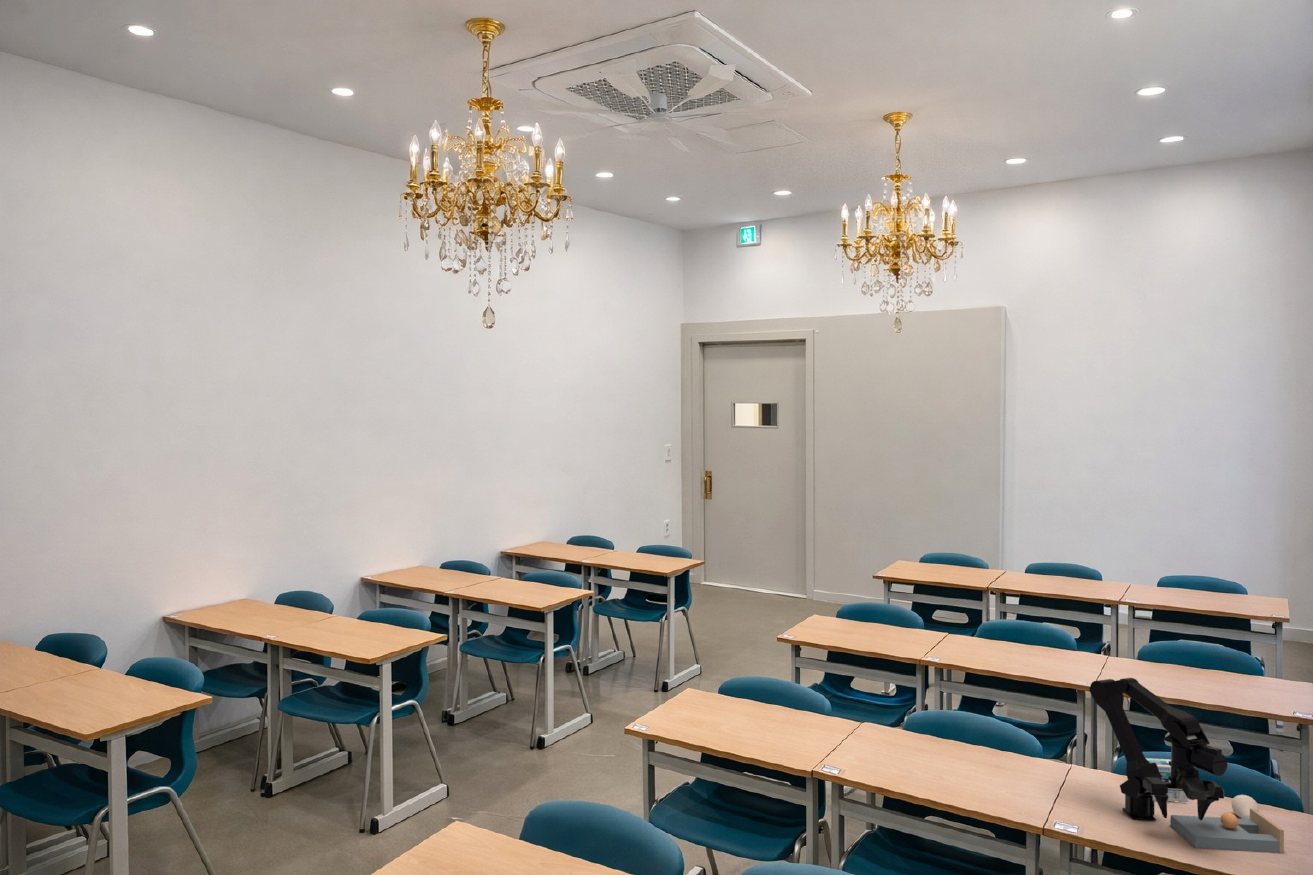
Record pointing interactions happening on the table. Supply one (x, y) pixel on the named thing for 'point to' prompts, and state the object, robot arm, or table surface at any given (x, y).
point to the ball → (1229, 820)
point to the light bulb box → (1166, 772)
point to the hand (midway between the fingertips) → (1182, 818)
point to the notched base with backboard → (1231, 833)
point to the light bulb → (1244, 806)
